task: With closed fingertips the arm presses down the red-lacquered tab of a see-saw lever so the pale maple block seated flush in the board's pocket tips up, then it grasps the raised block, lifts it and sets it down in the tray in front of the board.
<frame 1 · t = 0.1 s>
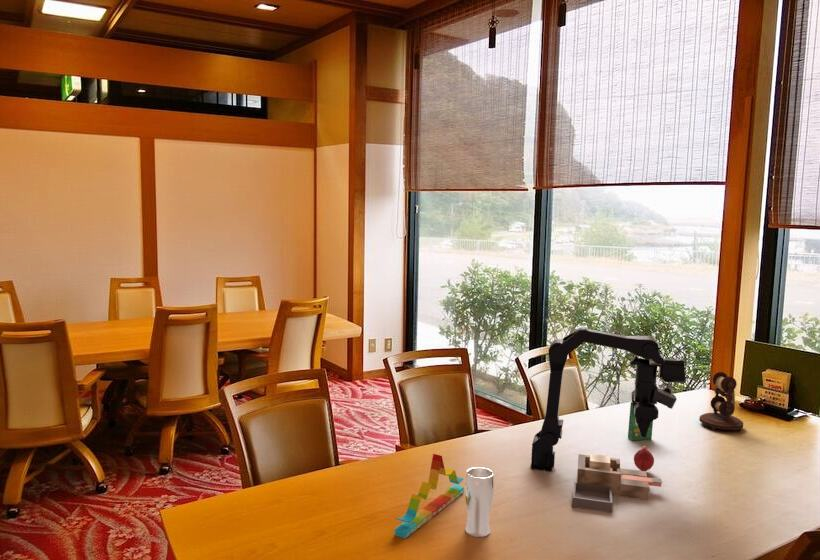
hand: (642, 431, 191), 15 cm above the table, fingers open, 9 cm apart
tray: (591, 501, 178), on the table
lever: (624, 476, 186), point 3 cm above the table, hinge at 0.0°, touching block
beer glass: (477, 531, 160), on the table
chart: (432, 514, 169), on the table
block: (599, 473, 188), point 3 cm above the table, touching lever
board: (631, 489, 186), on the table
brown roll holder stand: (720, 427, 242), on the table
coffee box: (639, 439, 227), on the table
onion: (643, 472, 198), on the table
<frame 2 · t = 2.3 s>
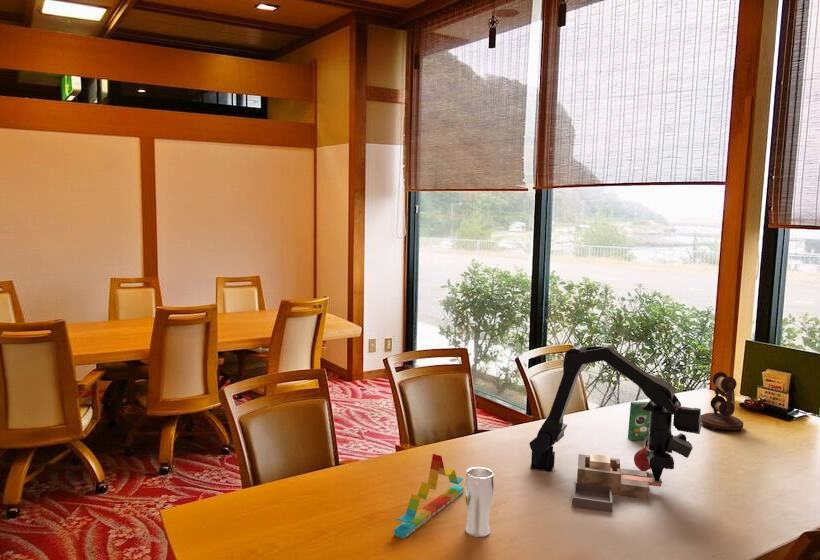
hand: (656, 480, 184), 4 cm above the table, fingers closed, pressing on lever
lever: (624, 476, 186), point 4 cm above the table, hinge at 0.0°, touching gripper
block: (599, 473, 188), point 4 cm above the table
everything else where it was.
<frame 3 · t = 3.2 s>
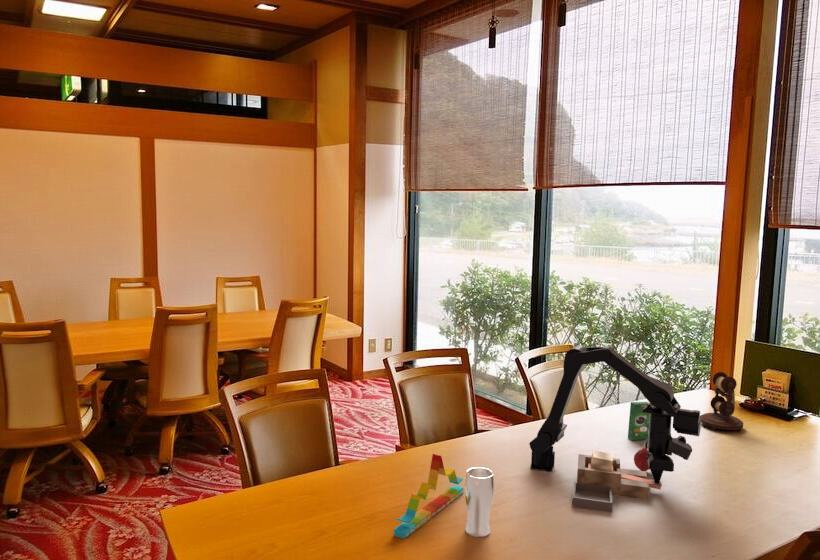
hand: (656, 483, 184), 3 cm above the table, fingers closed, pressing on lever
lever: (624, 475, 186), point 4 cm above the table, hinge at 6.4°, touching block, gripper
block: (600, 470, 188), point 5 cm above the table, tilted 6°, touching lever
everything else where it was.
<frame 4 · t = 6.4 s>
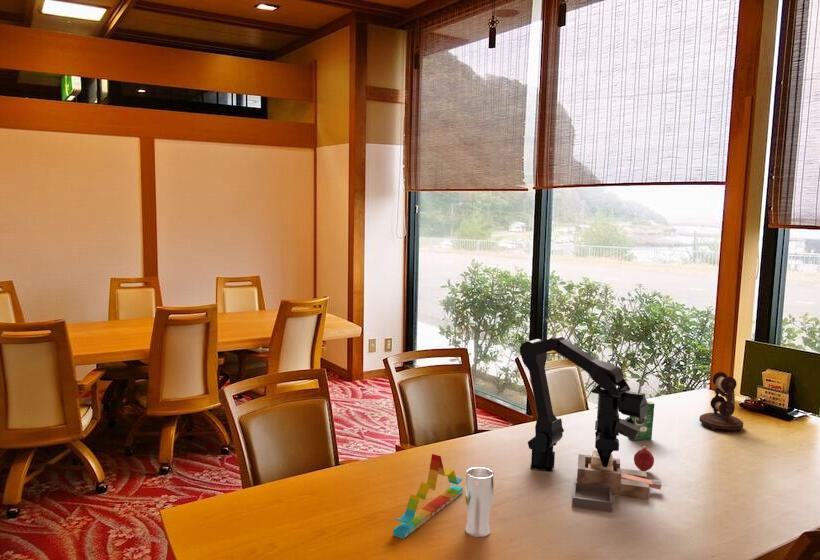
hand: (604, 463, 187), 7 cm above the table, fingers closed on block, 5 cm apart
lever: (624, 475, 186), point 4 cm above the table, hinge at 6.5°, touching block
block: (600, 470, 188), point 5 cm above the table, tilted 6°, touching gripper, lever
everything else where it was.
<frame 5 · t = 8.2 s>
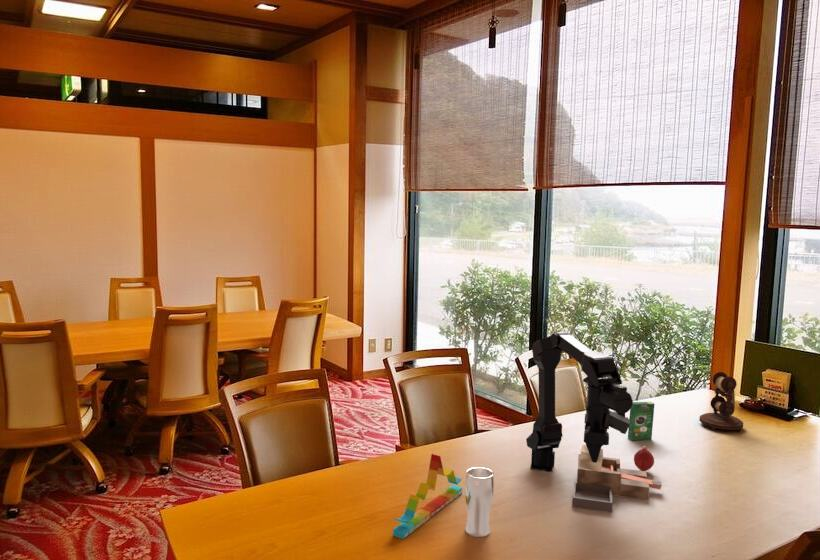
hand: (594, 458, 176), 12 cm above the table, fingers closed on block, 5 cm apart
lever: (624, 475, 186), point 4 cm above the table, hinge at 6.5°
block: (589, 465, 177), point 10 cm above the table, tilted 6°, touching gripper
everything else where it was.
when the fingers open (4 cm above the table, at t = 10.1 s): block stays where it is, resting on tray.
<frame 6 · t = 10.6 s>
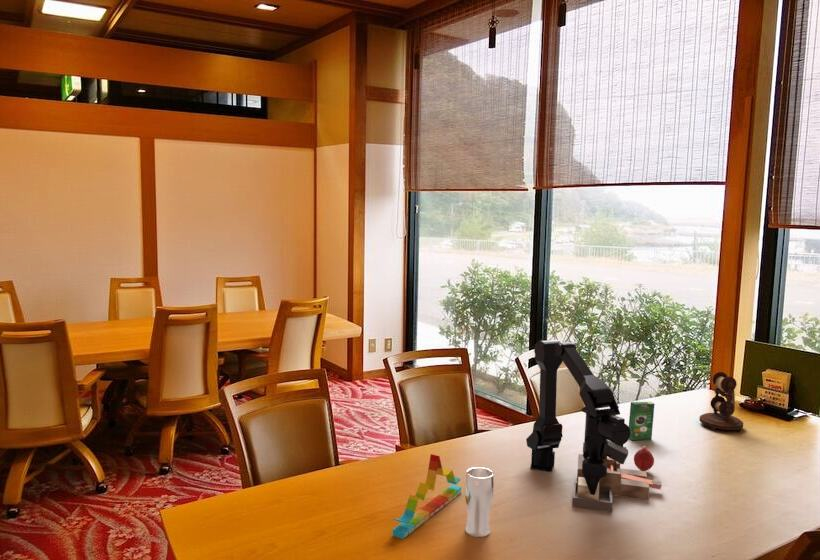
hand: (592, 487, 177), 4 cm above the table, fingers open, 8 cm apart
block: (587, 497, 178), point 1 cm above the table, touching tray
everything else where it was.
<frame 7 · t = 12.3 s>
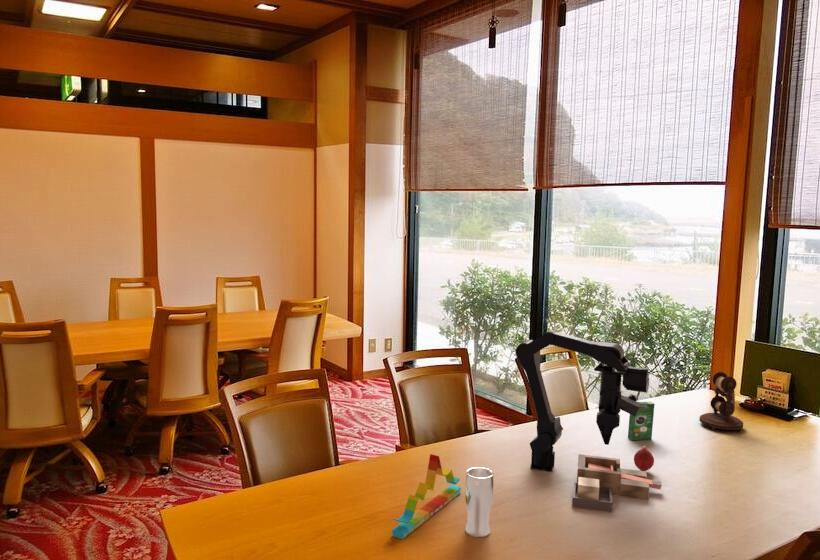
hand: (607, 439, 190), 12 cm above the table, fingers open, 9 cm apart
nothing on the table moved.
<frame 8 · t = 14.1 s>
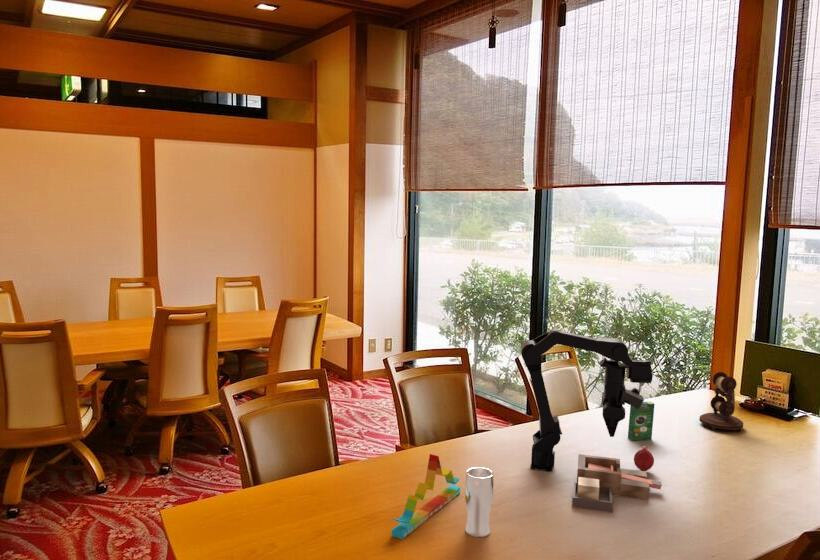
hand: (611, 431, 197), 12 cm above the table, fingers open, 9 cm apart
nothing on the table moved.
at the end: block inside the target area on the tray (1.1 cm from its centre), point 0.8 cm above the tray's base; the gripper is holding nothing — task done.
